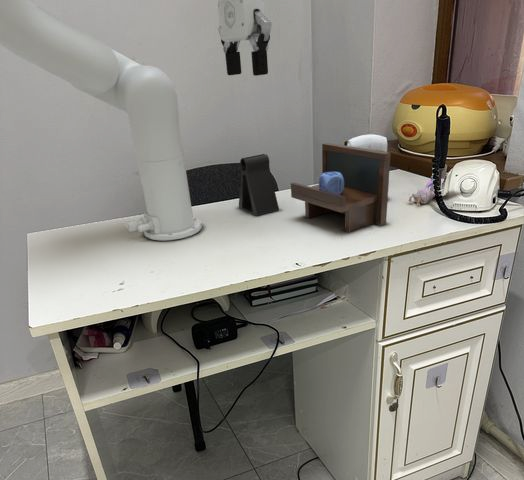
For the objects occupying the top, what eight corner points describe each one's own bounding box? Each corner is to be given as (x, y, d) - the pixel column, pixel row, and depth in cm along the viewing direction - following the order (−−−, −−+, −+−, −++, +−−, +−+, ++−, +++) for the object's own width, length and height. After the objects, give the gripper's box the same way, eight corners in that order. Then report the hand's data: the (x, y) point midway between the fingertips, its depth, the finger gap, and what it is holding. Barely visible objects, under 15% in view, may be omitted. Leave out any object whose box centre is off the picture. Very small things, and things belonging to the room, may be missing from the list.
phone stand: (279, 210, 114) (276, 156, 107) (256, 216, 112) (252, 161, 105) (259, 202, 121) (255, 151, 114) (238, 207, 118) (233, 155, 112)
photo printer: (381, 182, 128) (384, 131, 121) (387, 186, 124) (390, 134, 118) (343, 186, 127) (344, 135, 120) (348, 190, 123) (349, 138, 117)
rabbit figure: (424, 213, 108) (470, 189, 113) (423, 187, 105) (472, 163, 109) (403, 207, 113) (449, 184, 117) (402, 182, 109) (449, 159, 114)
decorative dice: (326, 197, 99) (326, 177, 97) (318, 193, 102) (318, 173, 100) (344, 194, 100) (344, 174, 97) (336, 190, 103) (336, 170, 101)
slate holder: (344, 238, 96) (346, 163, 88) (288, 218, 109) (285, 151, 101) (386, 224, 101) (390, 152, 93) (327, 206, 114) (327, 142, 106)
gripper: (198, -26, 93) (210, 76, 102) (246, -41, 81) (255, 77, 90) (231, -27, 96) (240, 72, 106) (282, -41, 84) (287, 72, 93)
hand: (247, 74), depth 98 cm, fingers open, 9 cm apart
